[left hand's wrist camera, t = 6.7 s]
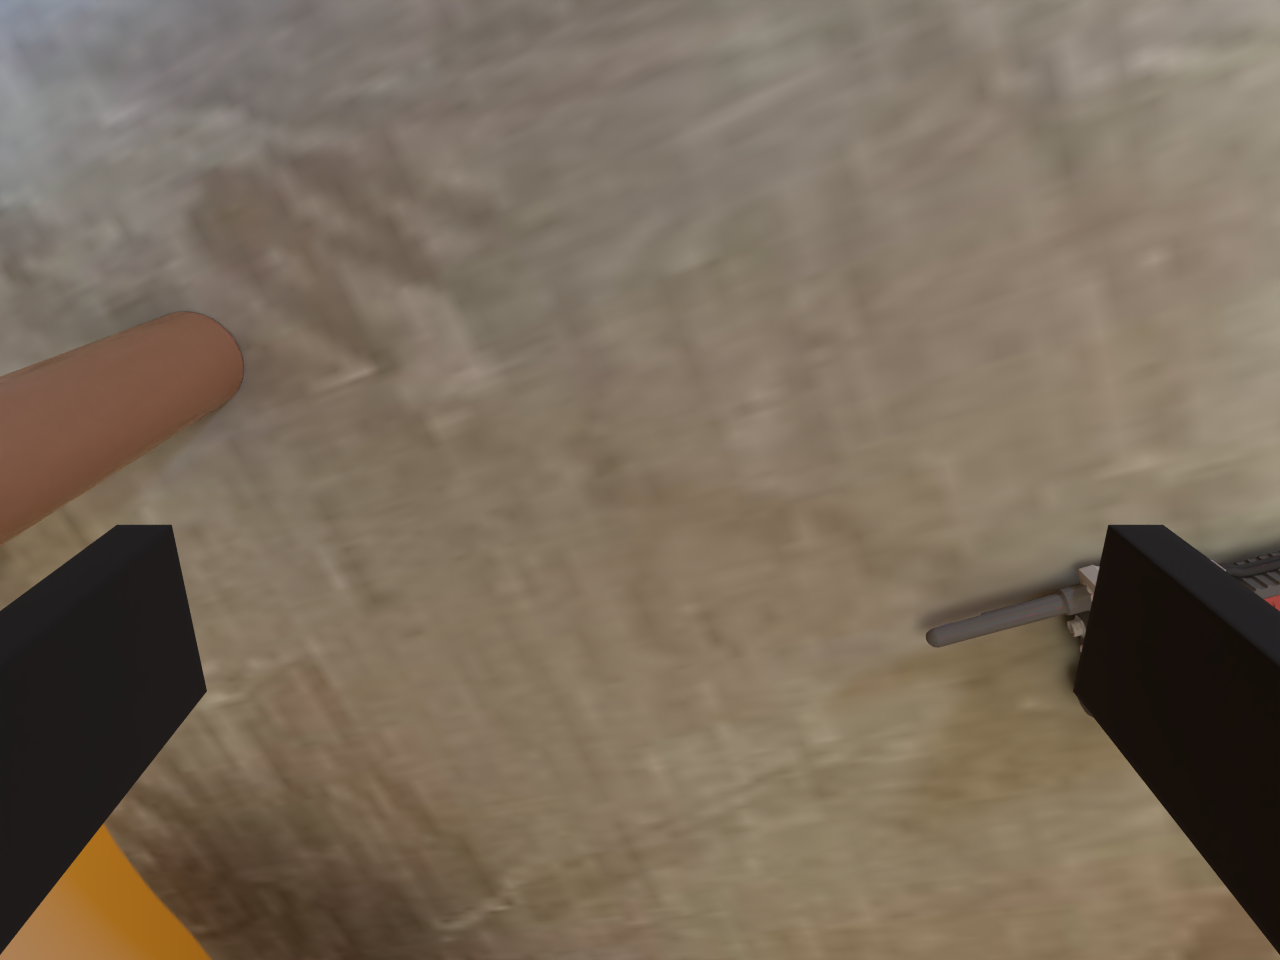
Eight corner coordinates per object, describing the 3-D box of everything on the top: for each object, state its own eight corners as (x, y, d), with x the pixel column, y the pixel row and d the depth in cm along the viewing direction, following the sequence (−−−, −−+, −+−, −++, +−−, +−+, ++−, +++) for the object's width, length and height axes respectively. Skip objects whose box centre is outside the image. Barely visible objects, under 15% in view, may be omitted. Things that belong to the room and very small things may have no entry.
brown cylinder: (192, 426, 41) (-172, 660, 23) (122, 347, 40) (-327, 527, 21) (264, 374, 40) (-53, 573, 22) (194, 291, 39) (-208, 429, 20)
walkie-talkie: (1327, 494, 42) (914, 607, 44) (1402, 533, 38) (942, 655, 40) (1333, 645, 45) (946, 744, 47) (1403, 696, 41) (976, 802, 43)
